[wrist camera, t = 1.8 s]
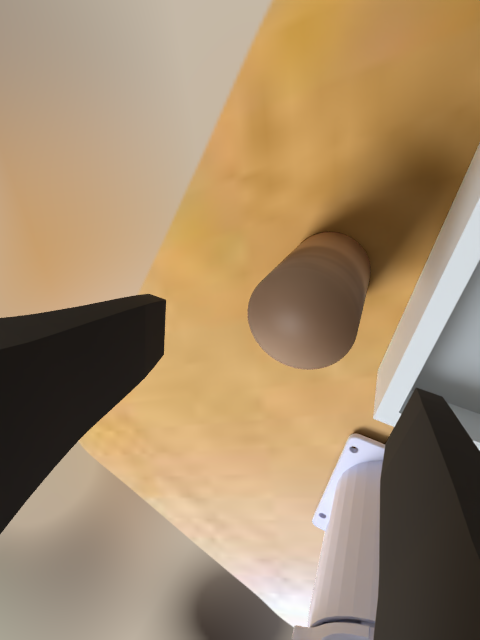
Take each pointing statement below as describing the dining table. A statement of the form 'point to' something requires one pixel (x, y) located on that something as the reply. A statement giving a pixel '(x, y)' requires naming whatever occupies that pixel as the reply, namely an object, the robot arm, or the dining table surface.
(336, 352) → the peg
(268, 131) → the dining table surface
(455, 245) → the bore box
